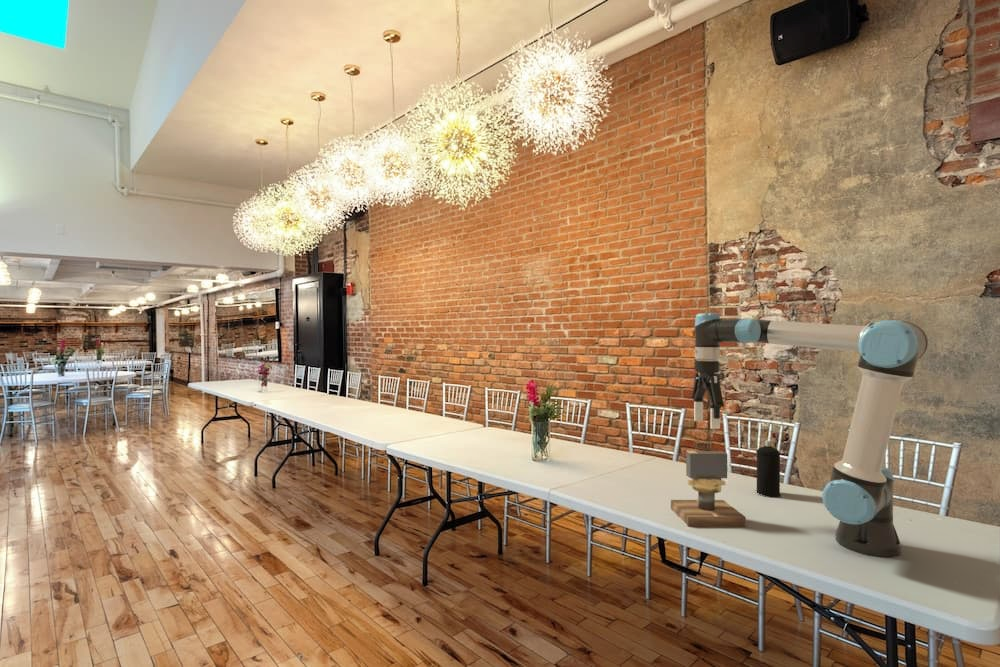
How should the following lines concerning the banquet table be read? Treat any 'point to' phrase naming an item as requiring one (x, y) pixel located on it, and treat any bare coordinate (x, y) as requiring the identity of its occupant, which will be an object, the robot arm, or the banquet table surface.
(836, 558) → the banquet table surface
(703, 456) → the coupling
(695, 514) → the base
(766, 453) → the aerosol can
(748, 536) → the banquet table surface
